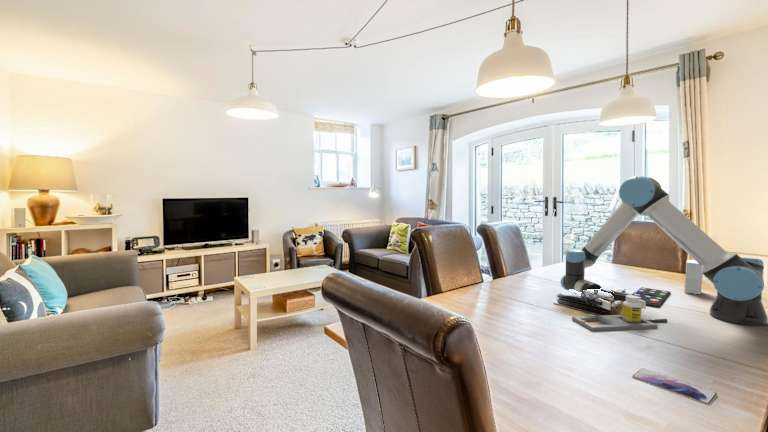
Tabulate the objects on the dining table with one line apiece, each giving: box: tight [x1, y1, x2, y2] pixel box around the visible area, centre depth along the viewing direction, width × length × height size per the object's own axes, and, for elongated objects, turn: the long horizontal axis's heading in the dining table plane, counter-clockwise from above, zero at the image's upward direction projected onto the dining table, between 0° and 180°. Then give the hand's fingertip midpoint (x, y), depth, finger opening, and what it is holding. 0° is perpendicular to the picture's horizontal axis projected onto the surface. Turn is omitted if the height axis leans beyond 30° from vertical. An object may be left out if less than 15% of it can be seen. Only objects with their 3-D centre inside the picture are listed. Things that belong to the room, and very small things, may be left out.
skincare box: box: [683, 259, 703, 295], centre depth 166 cm, size 8×6×15 cm
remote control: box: [635, 287, 671, 309], centre depth 159 cm, size 11×30×2 cm, turn 134°
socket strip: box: [571, 314, 668, 332], centre depth 127 cm, size 32×11×2 cm, turn 95°
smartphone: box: [631, 368, 718, 406], centre depth 85 cm, size 7×1×15 cm
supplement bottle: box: [622, 294, 642, 324], centre depth 127 cm, size 5×5×10 cm
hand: (627, 305), depth 128 cm, fingers open, 13 cm apart
